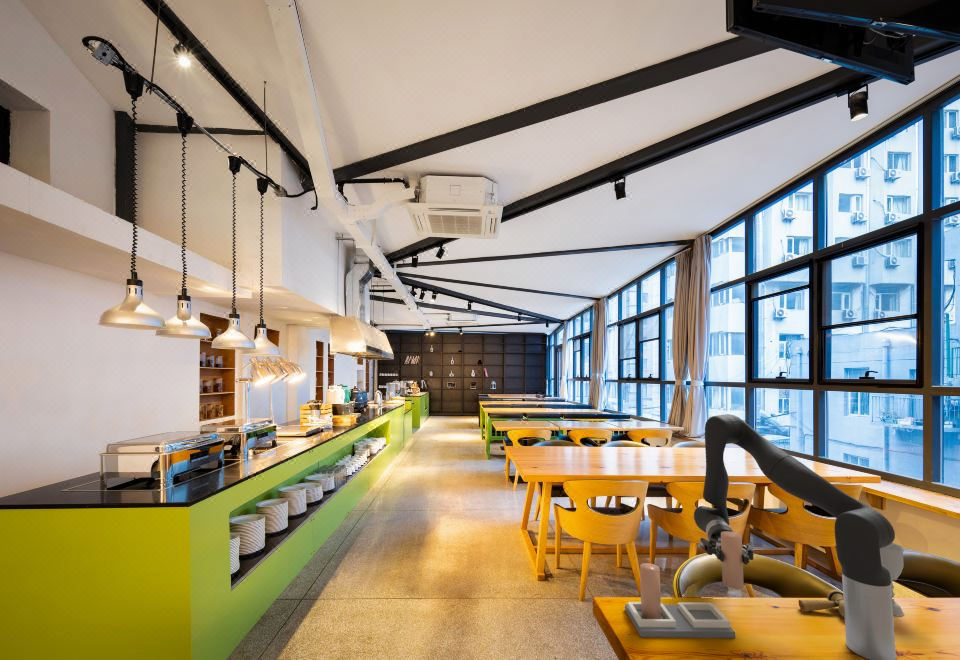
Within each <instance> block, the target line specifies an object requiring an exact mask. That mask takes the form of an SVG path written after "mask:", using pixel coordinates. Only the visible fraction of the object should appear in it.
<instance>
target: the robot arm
mask: <svg viewBox="0 0 960 660" xmlns="http://www.w3.org/2000/svg"><path fill="white" fill-rule="evenodd" d="M704 425H705V426H704V445H705V446H704V448H705V477H704V483H703V491H702V498H703V500H704V501H705V502H706V503H708V504H710V505H713V506H715V507H716V508H714V507H710V506H704V505H699V506H697V507H696V508H695V509H694V512H693V521H694V523H695V525H696V526H697V528H699V530H701V531H703V532H704V533H705V534H706V538H707V539H705V538H704V537H700V539H699V540H700V543H699V544H700V548H701V549H702V550H703V551H704V552H705V553H706V554H707V555H709V556H712V555H714V556H715V557H716V559H717V560H718V561H720V562H721V563H722V562H724V554H723V552H722V550H721V532H723V531H729V532H734V531H733V530H734V529H732V528H731V526H730V517H729V514H728V513H729V512H728V507H727V506H728V505H727V503H728V501H727V499H728V491H729V485H730V480H729V476H728V475H729V474H728V472H727V469H726V466H725V465H726V464H725V462H724V452H725V450H726V446H727V444H735V445H736V446H738V447H740V448H741V449H742V450H744V451H746V452H747V453H748V454H750V456H751V457H753V459H754V461H755V462H756V464H757V465H758V467H759V469H760V470H761V472H762V474H763V475H764V476H765V477H766V478H767V479H769V480H770V481H771V482H772V483H774V484H775V485H776V486H778V488H780V489H782V490H783V491H784V492H786V493H788V494H789V495H791V496H793V497H795V498H798V499H799V500H802V501H805V502H806V503H809V504H810V505H814V506H815V507H818V508H820V509H822V510H824V511H825V512H827V513H828V514H830V515H831V516H833V517H834V518H835V521H834V541H835V550H836V555H837V559H838V562H839V564H840V567H841V578H842V580H841V581H842V593H843V598H844V615H845V618H844V629H845V630H844V631H845V644H846V646H847V648H848V649H849V650H850V651H852V652H853V653H855V654H856V655H859V656H860V657H862V658H865V659H866V660H897V655H896V640H895V639H896V638H895V622H894V615H893V605H892V591H891V576H890V572H889V571H888V570H887V569H886V568H885V567H883V566H882V564H881V556H880V548H883V547H886V546H888V545H890V544H891V543H894V541H895V538H896V534H895V533H896V532H895V529H894V527H893V525H892V524H891V521H889V520H888V518H886V517H885V515H883V514H882V513H880V512H879V511H877V510H875V509H874V508H872V507H870V506H869V505H867V504H866V503H863V502H862V501H860V500H859V499H856V498H855V497H854V496H851V495H850V494H848V493H846V492H845V491H843V490H841V489H839V488H838V487H837V486H835V485H834V484H832V482H829V481H828V480H827V479H825V478H823V476H821V475H819V474H818V473H817V472H815V471H813V470H812V469H810V468H809V467H808V466H806V465H805V464H804V463H802V462H801V461H800V460H798V459H797V458H795V457H794V456H792V455H791V454H789V453H788V452H786V451H784V450H782V448H780V447H778V446H777V445H775V444H774V443H773V442H771V441H770V440H768V439H766V438H765V437H763V436H762V435H761V434H760V433H759V432H757V431H756V430H755V428H753V427H752V426H751V425H749V424H748V423H747V422H745V420H743V419H741V418H740V417H739V416H737V415H734V414H722V415H721V414H720V415H719V414H718V415H714V416H710V417H709V418H708V419H707V420H706V422H705V424H704ZM742 556H743V566H744V565H745V566H746V565H747V566H748V564H750V561H754V544H753V543H752V542H748V543H746V545H745V544H742Z"/></svg>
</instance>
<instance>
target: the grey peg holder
mask: <svg viewBox="0 0 960 660" xmlns="http://www.w3.org/2000/svg"><path fill="white" fill-rule="evenodd" d="M639 571H640V572H639V573H640V575H639V578H640V601H628V602H627V604H624V611H625V612H626V614H627V616H628V617H629V619H630V621H631V622H632V624H633V626H634V628H635V630H636V631H637V633H638V634H639V636H640V637H641V638H680V639H681V638H688V639H689V638H690V639H695V638H697V639H699V638H700V639H702V638H703V639H704V638H705V639H706V638H707V639H711V638H712V639H715V638H716V639H736V631H735V630H734V629H733V628H732V627H731V621H730V620H729V619H728V618H727V617H726V616H725V614H723V613H722V612H721V611H720V610H719V608H718V607H717V606H716V605H715V604H714V603H712V602H687V601H685V602H683V601H682V602H680V601H679V602H677V604H664V603H663V602H662V601H661V600H662V599H661V571H660V567H659V565H657V564H653V563H650V562H645V563H640V565H639Z"/></svg>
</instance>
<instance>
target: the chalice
mask: <svg viewBox="0 0 960 660" xmlns="http://www.w3.org/2000/svg"><path fill="white" fill-rule="evenodd" d="M905 550H906V548H905V547H904V546H903V545H900V544H897V543H894V542H892V543H891V544H890V545H888V546H886V547H883V548H880V556H881V564H882V566H883V567H885V568H886V569H887V570H888V571H889V572H890V576H891V591H892V598H894V596H895V595H896V593H895V592H894V588H895V585H894V584H893V581H897V580H898V578H899V577H900V575H901V574H902V572H903V568H904V565H905V564H904V552H905ZM892 605H893V616H897V617H903V616H905V613H904V611H903V609H902V608H901V605H900V604H899V603H898V602H896V600H895V598H894V599H892Z"/></svg>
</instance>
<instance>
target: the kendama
mask: <svg viewBox="0 0 960 660" xmlns="http://www.w3.org/2000/svg"><path fill="white" fill-rule="evenodd" d="M826 598H827V599H826V600H823V599H798V605H799V609H800V610H801V609H802V610H803V611H804V612H803V611H802V610H801V611H802V612H803V613H808V612H813V611H822V610H823V611H824V610H829V609H833V608H838V612H839V614H840V615H841V617H843V618H844V619H845V615H844V598H843V591H840V590H839V589H831V590H829V591H828V592H827V594H826Z"/></svg>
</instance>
